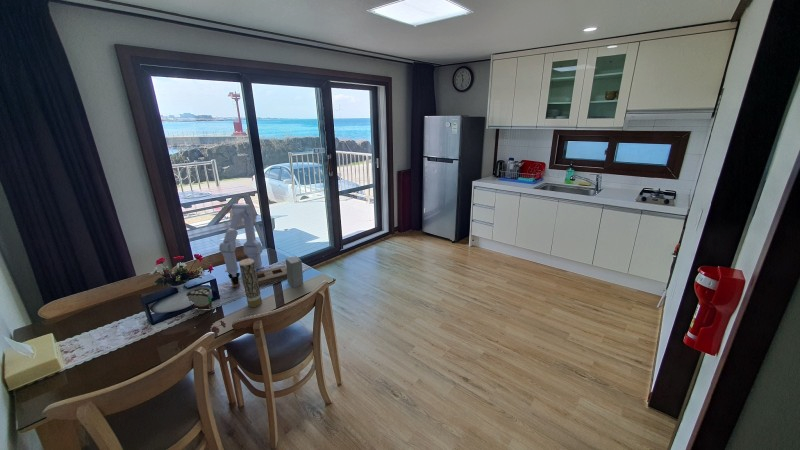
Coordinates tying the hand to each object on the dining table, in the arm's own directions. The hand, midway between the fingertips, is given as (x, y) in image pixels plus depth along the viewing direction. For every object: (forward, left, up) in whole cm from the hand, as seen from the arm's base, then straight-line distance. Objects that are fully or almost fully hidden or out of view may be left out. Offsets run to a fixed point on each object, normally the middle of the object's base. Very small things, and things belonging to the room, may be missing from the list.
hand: (235, 282), depth 179 cm
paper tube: (+26, +6, -2) cm, 27 cm away
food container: (+14, -16, -2) cm, 21 cm away
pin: (0, 0, -2) cm, 2 cm away
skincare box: (+17, +30, -2) cm, 35 cm away
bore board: (+2, +18, -2) cm, 18 cm away
